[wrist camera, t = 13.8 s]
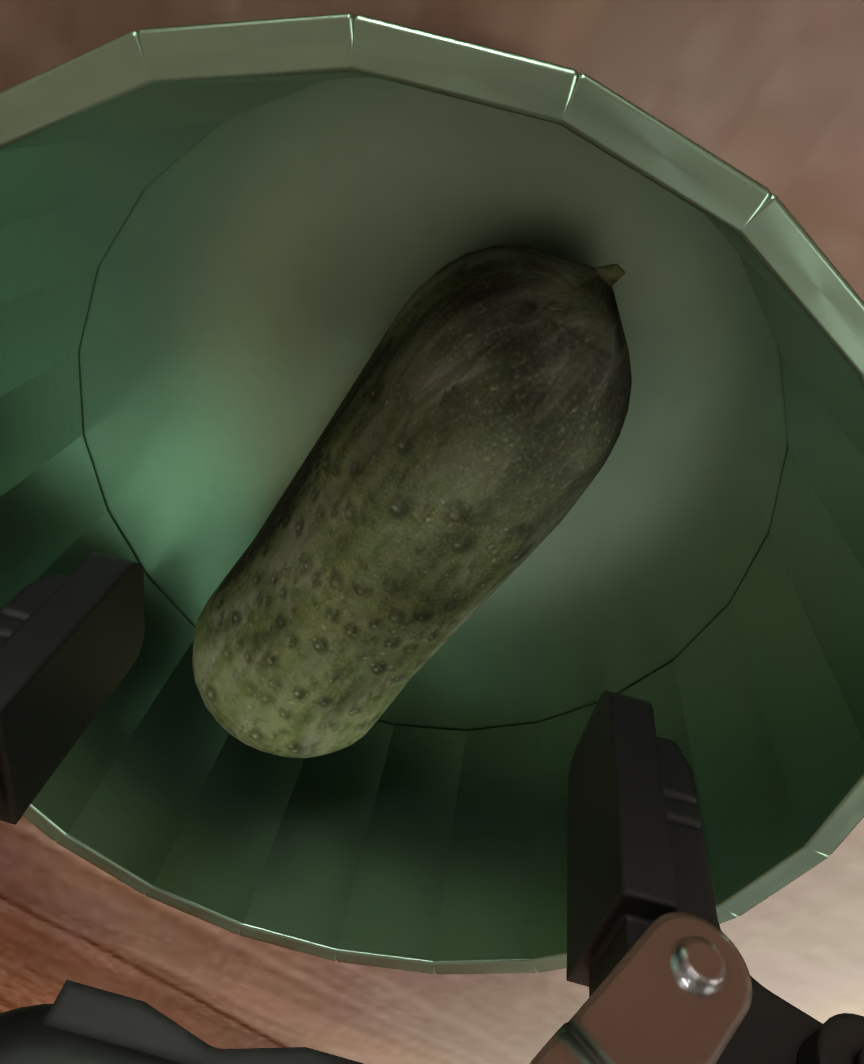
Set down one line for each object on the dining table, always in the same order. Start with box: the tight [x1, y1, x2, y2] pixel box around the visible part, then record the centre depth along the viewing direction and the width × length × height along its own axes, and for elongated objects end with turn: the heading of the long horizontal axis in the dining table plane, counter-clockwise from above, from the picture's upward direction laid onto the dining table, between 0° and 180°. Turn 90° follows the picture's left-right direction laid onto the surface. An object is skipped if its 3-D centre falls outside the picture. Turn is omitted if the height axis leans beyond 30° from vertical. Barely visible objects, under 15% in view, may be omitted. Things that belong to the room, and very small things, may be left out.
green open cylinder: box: [0, 13, 864, 974], centre depth 15 cm, size 18×18×8 cm
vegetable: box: [192, 245, 632, 758], centre depth 16 cm, size 14×5×5 cm, turn 147°
